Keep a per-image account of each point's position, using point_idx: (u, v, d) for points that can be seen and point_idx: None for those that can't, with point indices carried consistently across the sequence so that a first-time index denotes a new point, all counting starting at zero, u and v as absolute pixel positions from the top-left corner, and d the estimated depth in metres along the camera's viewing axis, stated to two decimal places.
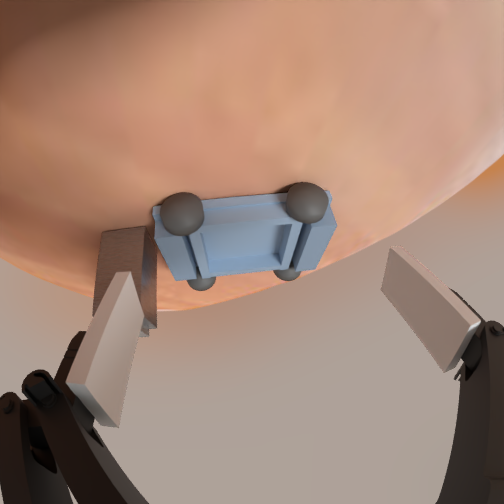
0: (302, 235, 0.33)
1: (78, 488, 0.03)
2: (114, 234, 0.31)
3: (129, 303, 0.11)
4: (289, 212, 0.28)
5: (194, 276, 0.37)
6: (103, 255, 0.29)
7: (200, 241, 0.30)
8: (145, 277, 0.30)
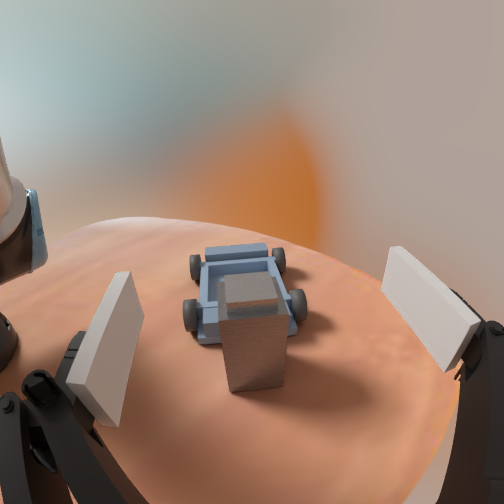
0: (227, 260, 0.48)
1: (78, 488, 0.03)
2: None
3: (129, 303, 0.11)
4: (197, 269, 0.46)
5: None
6: None
7: None
8: None
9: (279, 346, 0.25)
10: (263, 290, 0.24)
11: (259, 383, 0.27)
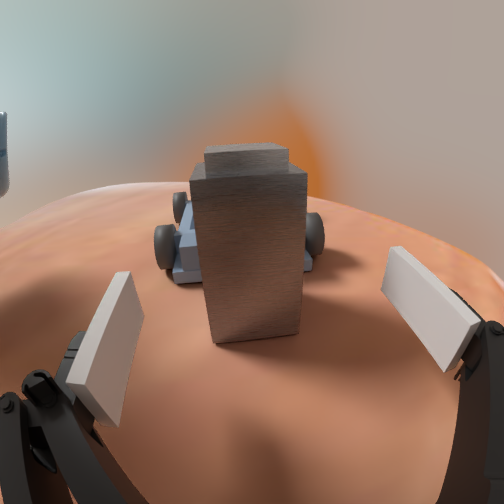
0: None
1: (78, 488, 0.03)
2: None
3: (129, 303, 0.11)
4: (181, 206, 0.36)
5: None
6: None
7: None
8: None
9: (293, 245, 0.15)
10: (264, 147, 0.15)
11: (261, 326, 0.18)
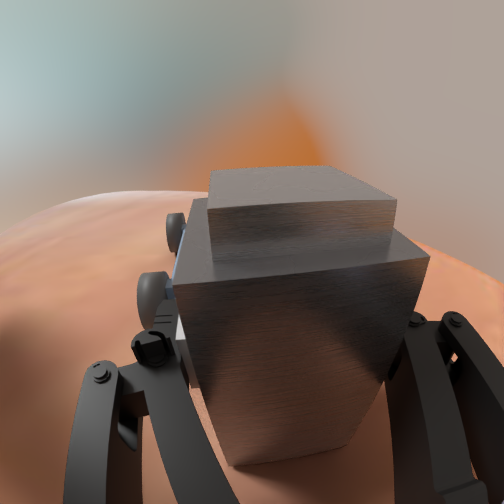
0: None
1: (170, 452, 0.05)
2: None
3: None
4: (177, 232, 0.28)
5: None
6: None
7: None
8: None
9: (374, 371, 0.08)
10: (337, 185, 0.07)
11: (299, 450, 0.10)
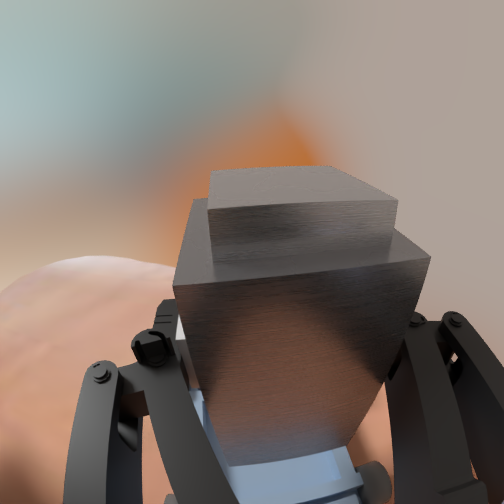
0: None
1: (170, 452, 0.05)
2: None
3: None
4: None
5: (346, 499, 0.12)
6: None
7: None
8: None
9: (374, 371, 0.08)
10: (338, 186, 0.07)
11: (299, 450, 0.10)
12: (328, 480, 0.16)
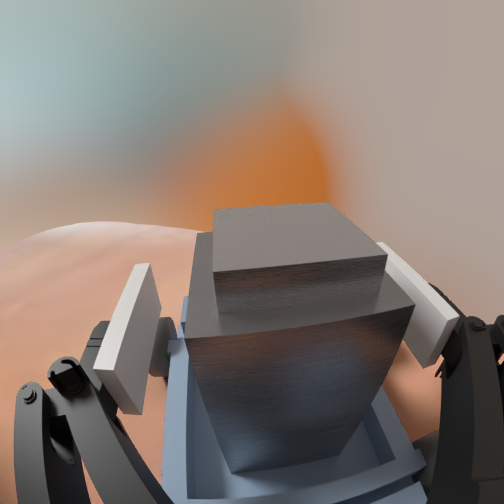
0: None
1: (99, 477, 0.04)
2: None
3: (149, 294, 0.12)
4: (161, 360, 0.16)
5: (406, 490, 0.07)
6: None
7: (224, 501, 0.08)
8: None
9: (362, 396, 0.08)
10: (333, 236, 0.08)
11: (295, 459, 0.11)
12: (371, 466, 0.10)
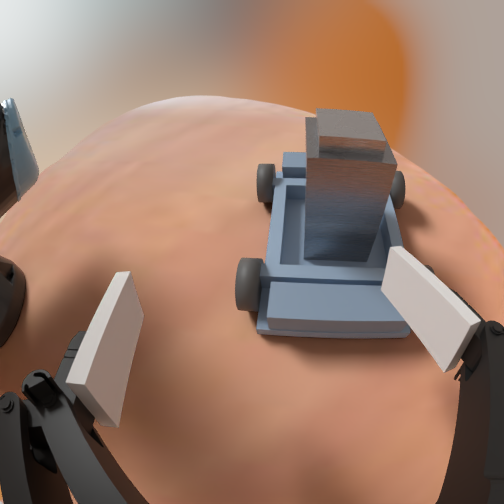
0: None
1: (78, 488, 0.03)
2: None
3: (129, 303, 0.11)
4: (268, 189, 0.29)
5: None
6: None
7: (300, 266, 0.22)
8: None
9: (376, 208, 0.19)
10: (367, 129, 0.16)
11: (341, 253, 0.23)
12: None
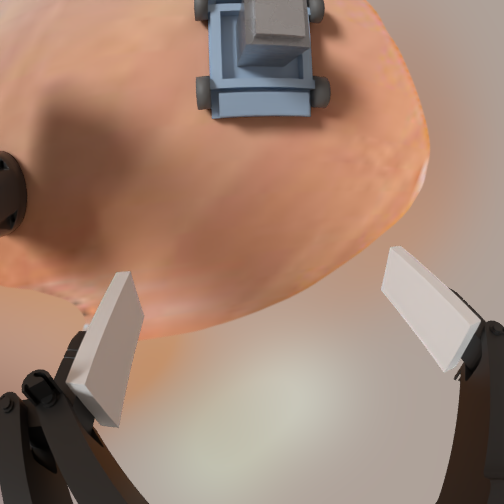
0: None
1: (78, 488, 0.03)
2: None
3: (129, 303, 0.11)
4: (205, 15, 0.23)
5: (302, 93, 0.29)
6: (238, 55, 0.26)
7: (236, 79, 0.28)
8: None
9: (292, 55, 0.23)
10: (293, 23, 0.18)
11: (264, 64, 0.28)
12: (295, 77, 0.30)
